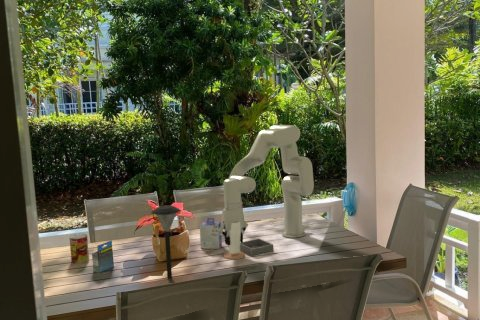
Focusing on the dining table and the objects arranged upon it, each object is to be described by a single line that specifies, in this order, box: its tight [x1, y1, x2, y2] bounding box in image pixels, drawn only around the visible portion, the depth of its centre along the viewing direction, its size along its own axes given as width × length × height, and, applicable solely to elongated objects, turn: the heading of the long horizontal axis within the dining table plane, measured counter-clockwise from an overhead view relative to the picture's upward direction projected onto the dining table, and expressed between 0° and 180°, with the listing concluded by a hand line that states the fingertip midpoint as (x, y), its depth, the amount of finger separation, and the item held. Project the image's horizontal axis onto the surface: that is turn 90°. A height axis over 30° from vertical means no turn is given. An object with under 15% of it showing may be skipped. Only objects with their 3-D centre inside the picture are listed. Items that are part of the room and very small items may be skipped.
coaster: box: [223, 251, 246, 260], centre depth 221 cm, size 10×10×1 cm
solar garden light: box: [150, 204, 181, 279], centre depth 195 cm, size 12×12×30 cm
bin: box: [240, 238, 274, 257], centre depth 227 cm, size 12×12×4 cm
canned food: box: [69, 233, 90, 265], centre depth 222 cm, size 8×8×12 cm
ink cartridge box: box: [199, 217, 223, 250], centre depth 235 cm, size 10×6×14 cm, turn 79°
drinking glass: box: [227, 222, 241, 254], centre depth 220 cm, size 7×7×15 cm
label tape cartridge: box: [91, 239, 115, 274], centre depth 209 cm, size 9×4×12 cm, turn 150°
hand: (234, 242), depth 221 cm, fingers closed on drinking glass, 6 cm apart
